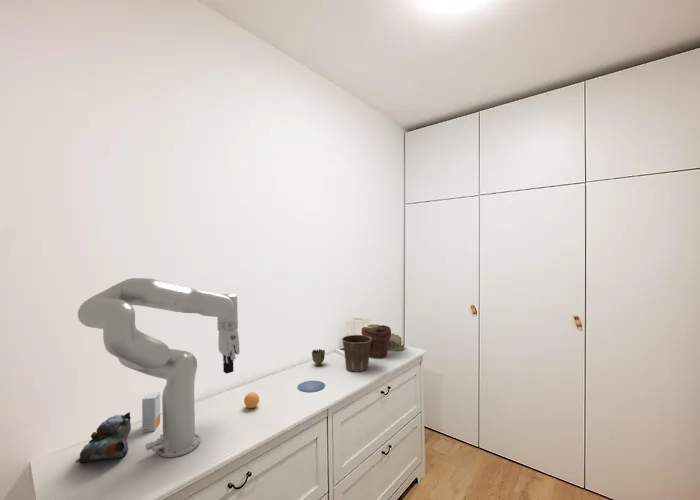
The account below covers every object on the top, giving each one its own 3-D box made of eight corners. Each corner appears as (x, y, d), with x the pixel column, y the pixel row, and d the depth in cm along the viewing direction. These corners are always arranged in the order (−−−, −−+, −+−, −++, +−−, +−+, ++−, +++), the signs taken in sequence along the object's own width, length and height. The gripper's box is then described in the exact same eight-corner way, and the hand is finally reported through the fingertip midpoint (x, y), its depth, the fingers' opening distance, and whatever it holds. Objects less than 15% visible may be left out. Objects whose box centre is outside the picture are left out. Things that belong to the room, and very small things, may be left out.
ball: (248, 412, 133) (247, 397, 133) (241, 407, 138) (241, 392, 138) (261, 407, 137) (261, 392, 137) (255, 402, 142) (255, 388, 142)
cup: (323, 367, 182) (322, 353, 182) (310, 367, 184) (309, 352, 184) (326, 363, 190) (326, 349, 190) (314, 362, 191) (314, 348, 191)
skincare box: (155, 431, 120) (154, 398, 120) (142, 432, 119) (141, 399, 119) (161, 422, 126) (160, 391, 126) (148, 424, 125) (148, 392, 125)
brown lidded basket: (396, 351, 208) (395, 323, 208) (386, 362, 190) (385, 330, 190) (369, 349, 215) (368, 321, 215) (357, 358, 197) (356, 328, 197)
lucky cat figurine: (68, 463, 102) (84, 413, 109) (111, 460, 111) (123, 414, 118) (89, 464, 95) (105, 410, 102) (133, 461, 104) (145, 411, 111)
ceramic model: (381, 350, 212) (380, 334, 212) (384, 345, 223) (384, 330, 223) (403, 352, 208) (403, 336, 208) (405, 347, 219) (405, 331, 219)
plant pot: (378, 369, 178) (377, 339, 178) (353, 376, 169) (353, 344, 169) (360, 361, 192) (360, 333, 192) (336, 367, 183) (336, 337, 183)
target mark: (307, 394, 148) (307, 394, 148) (292, 386, 158) (292, 385, 158) (330, 386, 157) (330, 386, 157) (314, 378, 167) (314, 378, 167)
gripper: (245, 326, 128) (246, 374, 128) (229, 321, 139) (230, 365, 139) (225, 330, 123) (226, 380, 123) (211, 324, 134) (211, 369, 134)
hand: (228, 371), depth 131 cm, fingers closed
